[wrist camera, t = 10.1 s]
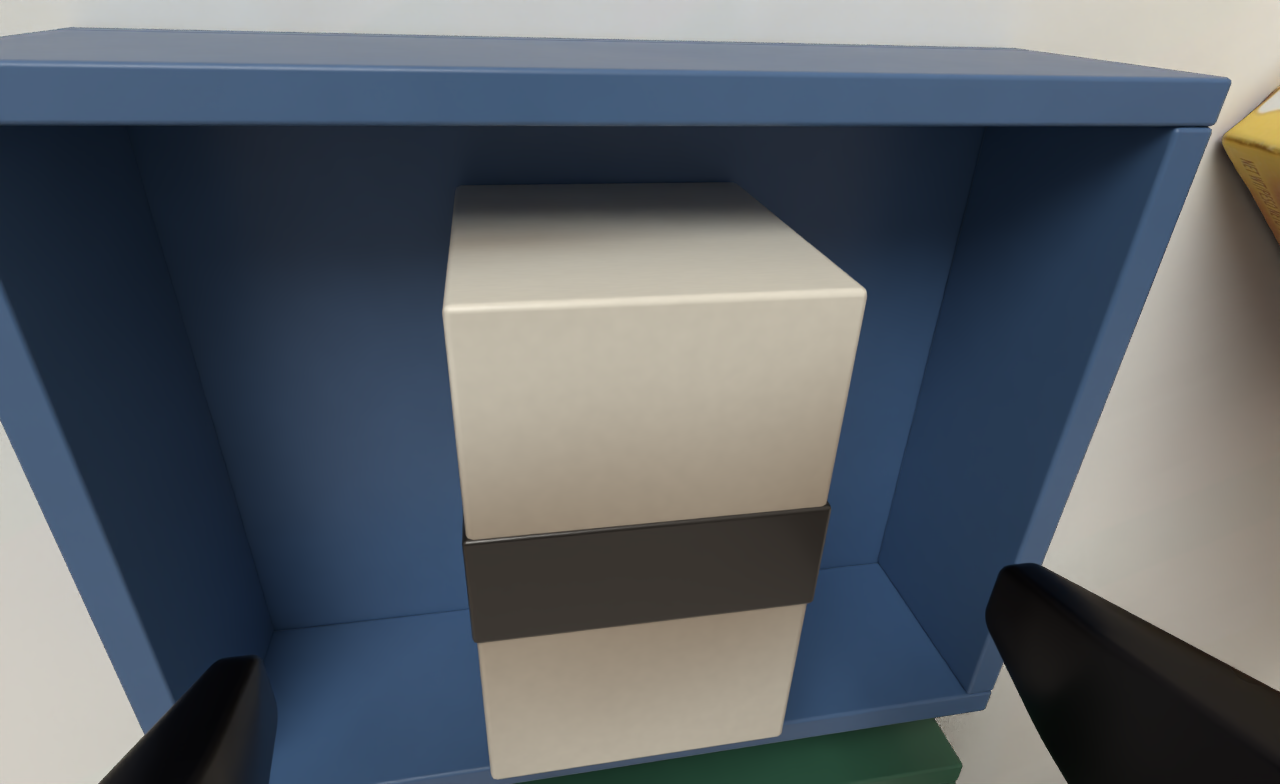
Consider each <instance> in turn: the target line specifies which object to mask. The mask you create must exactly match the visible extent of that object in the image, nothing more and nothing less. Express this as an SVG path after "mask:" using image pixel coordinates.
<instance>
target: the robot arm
mask: <svg viewBox="0 0 1280 784" xmlns="http://www.w3.org/2000/svg"><path fill="white" fill-rule="evenodd" d="M985 620H986V625H987V628H988V631H989V633H990V635H991V637H992V639H993V641H994V643H995V645H996V647H997V649H998V652H999V654H1000V656H1001V658H1002V660H1003V662H1004V664H1005V666H1006V668H1007V670H1008V672H1009V674H1010V676H1011V678H1012V680H1013V682H1014V684H1015V687H1016V689H1017V691H1018V693H1019V695H1020V697H1021V699H1022V701H1023V703H1024V705H1025V707H1026V709H1027V711H1028V713H1029V715H1030V717H1031V720H1032V722H1033V723H1034V725H1035V727H1036V729H1037V731H1038V733H1039V735H1040V737H1041V739H1042V741H1043V742H1044V744H1045V746H1046V748H1047V749H1048V751H1049V753H1050V755H1051V756H1052V758H1053V760H1054V761H1055V763H1056V765H1057V766H1058V768H1059V770H1060V771H1061V773H1062V775H1063V776H1064V778H1065V780H1066V781H1067V783H1068V784H1280V692H1279V691H1277V690H1275V689H1273V688H1271V687H1269V686H1267V685H1266V684H1264V683H1262V682H1260V681H1258V680H1256V679H1254V678H1252V677H1250V676H1249V675H1247V674H1245V673H1243V672H1241V671H1239V670H1237V669H1235V668H1234V667H1232V666H1230V665H1228V664H1226V663H1224V662H1222V661H1220V660H1218V659H1217V658H1215V657H1213V656H1211V655H1209V654H1207V653H1205V652H1203V651H1201V650H1200V649H1198V648H1196V647H1194V646H1192V645H1190V644H1188V643H1186V642H1184V641H1183V640H1181V639H1179V638H1177V637H1175V636H1173V635H1171V634H1169V633H1167V632H1166V631H1164V630H1162V629H1160V628H1158V627H1156V626H1154V625H1152V624H1151V623H1149V622H1147V621H1145V620H1143V619H1141V618H1139V617H1137V616H1135V615H1134V614H1132V613H1130V612H1128V611H1126V610H1124V609H1122V608H1120V607H1118V606H1117V605H1115V604H1113V603H1111V602H1109V601H1107V600H1105V599H1103V598H1101V597H1100V596H1098V595H1096V594H1094V593H1092V592H1090V591H1088V590H1086V589H1085V588H1083V587H1081V586H1079V585H1077V584H1075V583H1073V582H1071V581H1069V580H1068V579H1066V578H1064V577H1062V576H1060V575H1058V574H1056V573H1054V572H1052V571H1051V570H1049V569H1047V568H1045V567H1043V566H1041V565H1039V564H1036V563H1021V564H1012V565H1007V566H1004V567H1003V568H1002V569H1001V570H1000V571H999V573H998V576H997V579H996V581H995V584H994V587H993V590H992V593H991V595H990V598H989V601H988V604H987V606H986V610H985ZM277 721H278V710H277V703H276V700H275V697H274V693H273V690H272V687H271V684H270V680H269V677H268V674H267V671H266V668H265V664H264V662H263V660H262V659H261V657H260V656H258V655H254V654H252V655H243V656H235V657H226V658H221V659H219V660H217V661H216V662H214V663H213V664H212V665H211V666H210V667H209V668H208V669H207V670H206V671H205V672H204V673H203V674H202V675H201V676H200V677H199V678H198V680H197V681H196V682H195V683H194V684H193V685H192V686H191V687H190V688H189V689H188V690H187V691H186V692H185V693H184V694H183V695H182V696H181V697H180V698H179V699H178V701H177V702H176V703H175V704H174V705H173V706H172V707H171V708H170V709H169V710H168V711H167V712H166V713H165V714H164V715H163V716H162V717H161V718H160V719H159V721H158V722H157V723H156V724H155V725H154V726H153V727H152V728H151V729H150V730H149V731H148V732H147V733H146V734H145V735H144V736H143V737H142V738H141V739H140V740H139V742H138V743H137V744H136V745H135V746H134V747H133V748H132V749H131V750H130V751H129V752H128V753H127V754H126V755H125V756H124V757H123V758H122V759H121V760H120V761H119V763H118V764H117V765H116V766H115V767H114V768H113V769H112V770H111V771H110V772H109V773H108V774H107V775H106V776H105V777H104V778H103V779H102V780H101V781H100V782H99V784H269V779H270V772H271V765H272V758H273V751H274V744H275V737H276V730H277Z"/></svg>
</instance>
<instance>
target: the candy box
mask: <svg viewBox="0 0 1280 784" xmlns="http://www.w3.org/2000/svg"><path fill="white" fill-rule="evenodd" d="M1222 144H1223V146H1224V148H1225V151H1226V153H1227V155H1228V156H1229V158H1230V160H1231V161H1232V163H1233V165H1234V167H1235V169H1236V171H1237V172H1238V173H1239V175H1240V176H1241V178H1242V179H1243V181H1244V183H1245V185H1246V186H1247V187H1248V188H1249V190H1250V192H1251V194H1252V196H1253V198H1254V200H1255V201H1256V203H1257V205H1258V207H1259V209H1260V210H1261V212H1262V214H1263V216H1264V218H1265V220H1266V222H1267V224H1268V226H1269V227H1270V229H1271V230H1272V231H1273V234H1274V237H1275V238H1276V240H1277V241H1278V244H1279V246H1280V86H1279V87H1278V88H1277V89H1275V90H1274V91H1273V92H1272V93H1271V94H1270V95H1269V96H1268V97H1267V98H1266V99H1265V100H1264V101H1263V102H1262V103H1261V104H1260V105H1259V106H1258V107H1257V108H1256V109H1254V110H1253V111H1252V112H1251V113H1250V114H1249V115H1248V116H1246V117H1245V118H1244V119H1243V120H1242V121H1240V122H1239V123H1238V124H1237V125H1235V126H1234V127H1233V128H1232V129H1230V130H1229V131H1228V132H1227V133H1225V134H1224V136H1223V137H1222Z"/></svg>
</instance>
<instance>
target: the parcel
mask: <svg viewBox="0 0 1280 784" xmlns="http://www.w3.org/2000/svg"><path fill="white" fill-rule="evenodd" d="M866 300H867V292H866V289H865V288H864V287H863V286H862V285H860V284H859V283H858V282H857V281H855V280H854V279H853V278H852V277H850V276H849V275H848V274H847V273H846V272H844V271H843V270H842V269H841V268H839V267H838V266H837V265H836V264H835V263H833V262H832V261H831V260H830V259H828V258H827V257H826V256H825V255H823V254H822V253H821V252H820V251H819V250H817V249H816V248H815V247H814V246H812V245H811V244H810V243H809V242H807V241H806V240H805V239H804V238H803V237H801V236H800V235H799V234H798V233H796V232H795V231H794V230H793V229H792V228H790V227H789V226H788V225H787V224H785V223H784V222H783V221H782V220H780V219H779V218H778V217H777V216H776V215H774V214H773V213H772V212H771V211H769V210H768V209H767V208H766V207H765V206H763V205H762V204H761V203H760V202H758V201H757V200H756V199H755V198H753V197H752V196H751V195H750V194H749V193H747V192H746V191H745V190H744V189H742V188H741V187H740V186H739V185H737V184H736V183H734V182H707V183H623V184H540V185H461V186H459V187H457V188H456V191H455V199H454V208H453V217H452V226H451V235H450V245H449V254H448V263H447V272H446V281H445V290H444V299H443V308H442V316H443V326H444V335H445V345H446V354H447V364H448V373H449V382H450V392H451V401H452V411H453V420H454V430H455V439H456V449H457V458H458V468H459V477H460V487H461V496H462V506H463V522H462V550H463V559H464V568H465V577H466V586H467V595H468V605H469V614H470V623H471V632H472V639H473V641H474V642H475V643H477V648H478V657H479V667H480V676H481V686H482V695H483V705H484V714H485V724H486V733H487V743H488V752H489V762H490V771H491V775H492V777H493V779H497V780H499V779H505V778H512V777H518V776H525V775H531V774H538V773H544V772H551V771H557V770H564V769H570V768H577V767H583V766H590V765H596V764H603V763H609V762H616V761H622V760H629V759H635V758H642V757H648V756H655V755H661V754H668V753H674V752H681V751H687V750H694V749H700V748H707V747H713V746H720V745H726V744H732V743H739V742H745V741H752V740H758V739H765V738H771V737H777V736H779V735H780V734H781V733H782V728H783V723H784V718H785V713H786V708H787V702H788V697H789V692H790V687H791V682H792V677H793V672H794V667H795V662H796V657H797V651H798V646H799V641H800V636H801V631H802V626H803V621H804V616H805V611H806V606H807V604H808V603H811V602H812V601H813V599H814V594H815V589H816V584H817V579H818V574H819V569H820V564H821V559H822V554H823V549H824V544H825V539H826V534H827V529H828V524H829V519H830V514H831V506H830V504H829V502H828V501H827V499H828V494H829V488H830V483H831V478H832V473H833V468H834V463H835V458H836V453H837V448H838V443H839V437H840V432H841V427H842V422H843V417H844V412H845V407H846V402H847V397H848V392H849V387H850V381H851V376H852V371H853V366H854V361H855V356H856V351H857V346H858V341H859V336H860V331H861V325H862V320H863V315H864V310H865V305H866Z"/></svg>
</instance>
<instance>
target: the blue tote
mask: <svg viewBox="0 0 1280 784" xmlns="http://www.w3.org/2000/svg"><path fill="white" fill-rule="evenodd" d="M1230 86H1231V80H1230V79H1228V78H1227V77H1220V76H1213V75H1205V74H1198V73H1191V72H1184V71H1176V70H1169V69H1162V68H1155V67H1147V66H1140V65H1133V64H1126V63H1118V62H1111V61H1104V60H1097V59H1089V58H1082V57H1075V56H1068V55H1060V54H1053V53H1046V52H1039V51H1029V50H1025V49H1017V48H983V47H937V46H892V45H846V44H801V43H756V42H710V41H665V40H619V39H574V38H529V37H483V36H438V35H392V34H347V33H302V32H256V31H211V30H165V29H120V28H75V27H70V28H62V29H57V30H48V31H40V32H32V33H25V34H17V35H9V36H2V37H0V421H1V423H2V425H3V427H4V429H5V431H6V434H7V436H8V438H9V440H10V442H11V445H12V447H13V449H14V451H15V453H16V455H17V458H18V460H19V462H20V464H21V466H22V468H23V471H24V473H25V475H26V477H27V479H28V482H29V484H30V486H31V488H32V490H33V492H34V495H35V497H36V499H37V501H38V503H39V506H40V508H41V510H42V512H43V514H44V516H45V519H46V521H47V523H48V525H49V527H50V530H51V532H52V534H53V536H54V538H55V540H56V543H57V545H58V547H59V549H60V551H61V554H62V556H63V558H64V560H65V562H66V564H67V567H68V569H69V571H70V573H71V575H72V578H73V580H74V582H75V584H76V586H77V588H78V591H79V593H80V595H81V597H82V599H83V602H84V604H85V606H86V608H87V610H88V612H89V615H90V617H91V619H92V621H93V623H94V626H95V628H96V630H97V632H98V634H99V636H100V639H101V641H102V643H103V645H104V647H105V650H106V652H107V654H108V656H109V658H110V660H111V663H112V665H113V667H114V669H115V671H116V674H117V676H118V678H119V680H120V682H121V684H122V687H123V689H124V691H125V693H126V695H127V698H128V700H129V702H130V704H131V706H132V708H133V711H134V713H135V715H136V717H137V719H138V722H139V724H140V726H141V728H142V730H143V732H144V735H145V734H146V733H147V732H148V731H149V730H150V729H151V728H152V727H153V726H154V725H155V724H156V723H157V722H158V721H159V719H160V718H161V717H162V716H163V715H164V714H165V713H166V712H167V711H168V710H169V709H170V708H171V707H172V706H173V705H174V704H175V703H176V702H177V701H178V699H179V698H180V697H181V696H182V695H183V694H184V693H185V692H186V691H187V690H188V689H189V688H190V687H191V686H192V685H193V684H194V683H195V682H196V681H197V680H198V678H199V677H200V676H201V675H202V674H203V673H204V672H205V671H206V670H207V669H208V668H209V667H210V666H211V665H212V664H213V663H214V662H216V661H217V660H219V659H221V658H226V657H235V656H243V655H252V654H254V655H258V656H260V657H261V659H262V660H263V662H264V664H265V668H266V671H267V674H268V677H269V680H270V684H271V687H272V690H273V693H274V697H275V700H276V703H277V710H278V721H277V730H276V737H275V744H274V751H273V758H272V765H271V772H270V779H269V784H514V783H520V782H527V781H533V780H539V779H546V778H552V777H559V776H565V775H571V774H578V773H584V772H591V771H597V770H603V769H610V768H616V767H623V766H629V765H635V764H642V763H648V762H655V761H661V760H667V759H674V758H680V757H687V756H693V755H699V754H706V753H712V752H719V751H725V750H731V749H738V748H744V747H751V746H757V745H763V744H770V743H776V742H783V741H789V740H795V739H802V738H808V737H815V736H821V735H827V734H834V733H840V732H847V731H853V730H859V729H866V728H872V727H879V726H885V725H891V724H898V723H904V722H911V721H917V720H923V719H930V718H936V717H943V716H949V715H955V714H962V713H968V712H975V711H981V710H984V709H985V708H986V706H987V703H988V700H989V698H990V695H991V690H992V689H993V688H994V685H995V683H996V680H997V678H998V675H999V672H1000V670H1001V667H1002V665H1003V660H1002V658H1001V656H1000V654H999V652H998V649H997V647H996V645H995V643H994V641H993V639H992V637H991V635H990V633H989V631H988V628H987V625H986V620H985V610H986V606H987V604H988V601H989V598H990V595H991V593H992V590H993V587H994V584H995V581H996V579H997V576H998V573H999V571H1000V570H1001V569H1002V568H1003V567H1004V566H1007V565H1012V564H1021V563H1036V564H1039V565H1041V566H1042V563H1043V561H1044V558H1045V555H1046V553H1047V550H1048V548H1049V545H1050V543H1051V540H1052V538H1053V535H1054V533H1055V530H1056V528H1057V525H1058V522H1059V520H1060V517H1061V515H1062V512H1063V510H1064V507H1065V505H1066V502H1067V500H1068V497H1069V494H1070V492H1071V489H1072V487H1073V484H1074V482H1075V479H1076V477H1077V474H1078V472H1079V469H1080V466H1081V464H1082V461H1083V459H1084V456H1085V454H1086V451H1087V449H1088V446H1089V444H1090V441H1091V439H1092V436H1093V433H1094V431H1095V428H1096V426H1097V423H1098V421H1099V418H1100V416H1101V413H1102V411H1103V408H1104V405H1105V403H1106V400H1107V398H1108V395H1109V393H1110V390H1111V388H1112V385H1113V383H1114V380H1115V377H1116V375H1117V372H1118V370H1119V367H1120V365H1121V362H1122V360H1123V357H1124V355H1125V352H1126V350H1127V347H1128V344H1129V342H1130V339H1131V337H1132V334H1133V332H1134V329H1135V327H1136V324H1137V322H1138V319H1139V316H1140V314H1141V311H1142V309H1143V306H1144V304H1145V301H1146V299H1147V296H1148V294H1149V291H1150V288H1151V286H1152V283H1153V281H1154V278H1155V276H1156V273H1157V271H1158V268H1159V266H1160V263H1161V261H1162V258H1163V255H1164V253H1165V250H1166V248H1167V245H1168V243H1169V240H1170V238H1171V235H1172V233H1173V230H1174V227H1175V225H1176V222H1177V220H1178V217H1179V215H1180V212H1181V210H1182V207H1183V205H1184V202H1185V199H1186V197H1187V194H1188V192H1189V189H1190V187H1191V184H1192V182H1193V179H1194V177H1195V174H1196V172H1197V169H1198V166H1199V164H1200V161H1201V159H1202V156H1203V154H1204V151H1205V149H1206V146H1207V144H1208V141H1209V138H1210V136H1211V133H1212V129H1210V128H1209V127H1208V126H1212V125H1214V124H1215V123H1216V121H1217V119H1218V116H1219V113H1220V111H1221V108H1222V106H1223V103H1224V101H1225V98H1226V96H1227V93H1228V91H1229V88H1230ZM707 182H734V183H736V184H737V185H739V186H740V187H741V188H742V189H744V190H745V191H746V192H747V193H749V194H750V195H751V196H752V197H753V198H755V199H756V200H757V201H758V202H760V203H761V204H762V205H763V206H765V207H766V208H767V209H768V210H769V211H771V212H772V213H773V214H774V215H776V216H777V217H778V218H779V219H780V220H782V221H783V222H784V223H785V224H787V225H788V226H789V227H790V228H792V229H793V230H794V231H795V232H796V233H798V234H799V235H800V236H801V237H803V238H804V239H805V240H806V241H807V242H809V243H810V244H811V245H812V246H814V247H815V248H816V249H817V250H819V251H820V252H821V253H822V254H823V255H825V256H826V257H827V258H828V259H830V260H831V261H832V262H833V263H835V264H836V265H837V266H838V267H839V268H841V269H842V270H843V271H844V272H846V273H847V274H848V275H849V276H850V277H852V278H853V279H854V280H855V281H857V282H858V283H859V284H860V285H862V286H863V287H864V288H865V289H866V292H867V300H866V305H865V310H864V315H863V320H862V325H861V331H860V336H859V341H858V346H857V351H856V356H855V361H854V366H853V371H852V376H851V381H850V387H849V392H848V397H847V402H846V407H845V412H844V417H843V422H842V427H841V432H840V437H839V443H838V448H837V453H836V458H835V463H834V468H833V473H832V478H831V483H830V488H829V494H828V499H827V501H828V502H829V504H830V506H831V514H830V519H829V524H828V529H827V534H826V539H825V544H824V549H823V554H822V559H821V564H820V569H819V574H818V579H817V584H816V589H815V594H814V599H813V601H812V602H811V603H808V604H807V606H806V611H805V616H804V621H803V626H802V631H801V636H800V641H799V646H798V651H797V657H796V662H795V667H794V672H793V677H792V682H791V687H790V692H789V697H788V702H787V708H786V713H785V718H784V723H783V728H782V733H781V734H780V735H779V736H777V737H771V738H765V739H758V740H752V741H745V742H739V743H732V744H726V745H720V746H713V747H707V748H700V749H694V750H687V751H681V752H674V753H668V754H661V755H655V756H648V757H642V758H635V759H629V760H622V761H616V762H609V763H603V764H596V765H590V766H583V767H577V768H570V769H564V770H557V771H551V772H544V773H538V774H531V775H525V776H518V777H512V778H505V779H499V780H497V779H493V777H492V775H491V771H490V762H489V752H488V743H487V733H486V724H485V714H484V705H483V695H482V686H481V676H480V667H479V657H478V648H477V643H475V642H474V641H473V639H472V632H471V623H470V614H469V605H468V595H467V586H466V577H465V568H464V559H463V550H462V522H463V506H462V496H461V487H460V477H459V468H458V458H457V449H456V439H455V430H454V420H453V411H452V401H451V392H450V382H449V373H448V364H447V354H446V345H445V335H444V326H443V316H442V308H443V299H444V290H445V281H446V272H447V263H448V254H449V245H450V235H451V226H452V217H453V208H454V199H455V191H456V188H457V187H459V186H461V185H540V184H623V183H707Z"/></svg>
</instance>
